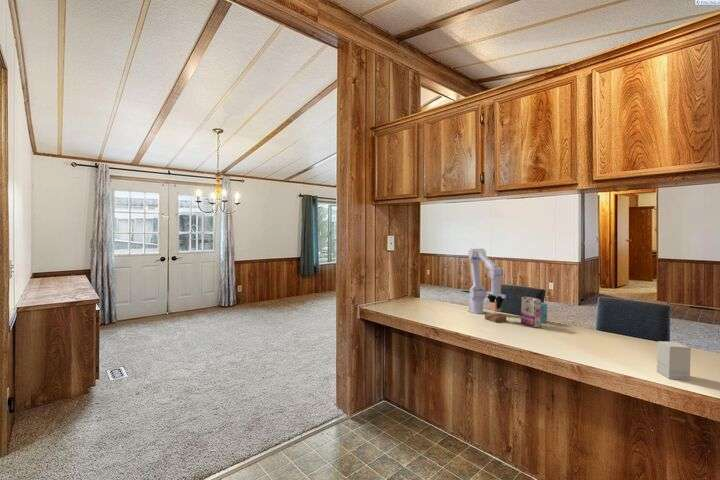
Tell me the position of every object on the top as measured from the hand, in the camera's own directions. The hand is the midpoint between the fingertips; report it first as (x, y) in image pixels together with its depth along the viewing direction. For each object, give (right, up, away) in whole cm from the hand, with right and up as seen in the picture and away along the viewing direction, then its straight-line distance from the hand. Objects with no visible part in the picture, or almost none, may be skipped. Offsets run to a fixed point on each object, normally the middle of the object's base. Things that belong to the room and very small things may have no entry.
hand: (495, 307), depth 222 cm
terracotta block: (0, -2, 0) cm, 2 cm away
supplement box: (+37, -11, -84) cm, 92 cm away
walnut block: (0, -8, 0) cm, 8 cm away
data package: (+25, -8, -1) cm, 26 cm away
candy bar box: (+17, -9, -11) cm, 22 cm away
